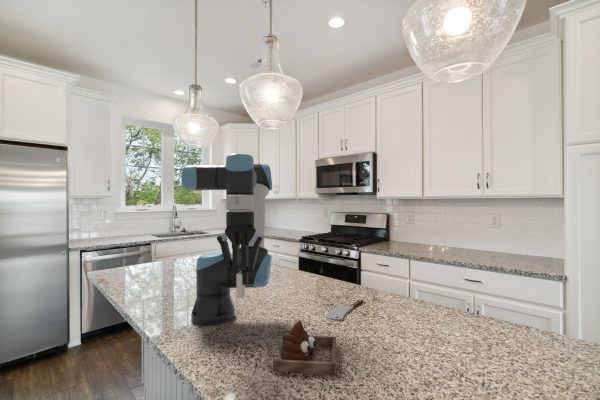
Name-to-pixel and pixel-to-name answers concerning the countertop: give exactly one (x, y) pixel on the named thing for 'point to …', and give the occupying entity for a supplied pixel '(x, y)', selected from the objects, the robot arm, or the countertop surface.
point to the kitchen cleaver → (341, 311)
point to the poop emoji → (298, 344)
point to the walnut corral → (310, 366)
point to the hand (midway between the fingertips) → (240, 295)
